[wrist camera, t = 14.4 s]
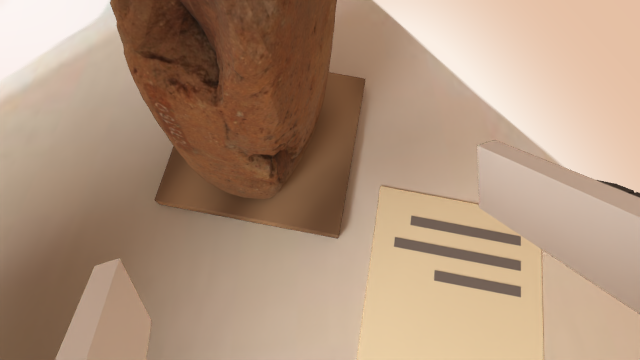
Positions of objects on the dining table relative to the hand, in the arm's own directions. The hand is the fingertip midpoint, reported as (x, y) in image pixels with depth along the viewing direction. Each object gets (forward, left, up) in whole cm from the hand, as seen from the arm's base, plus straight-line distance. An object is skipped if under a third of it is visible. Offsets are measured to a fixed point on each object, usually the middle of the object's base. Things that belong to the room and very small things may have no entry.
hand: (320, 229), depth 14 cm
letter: (+10, 0, -14) cm, 17 cm away
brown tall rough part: (-5, +9, -13) cm, 17 cm away
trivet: (-5, +9, -14) cm, 18 cm away
